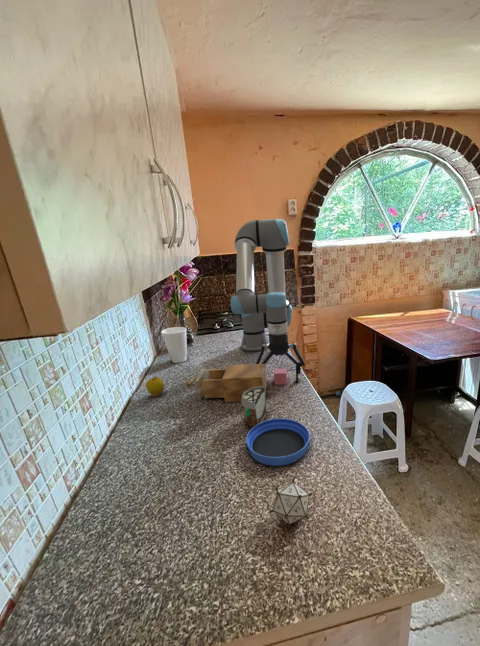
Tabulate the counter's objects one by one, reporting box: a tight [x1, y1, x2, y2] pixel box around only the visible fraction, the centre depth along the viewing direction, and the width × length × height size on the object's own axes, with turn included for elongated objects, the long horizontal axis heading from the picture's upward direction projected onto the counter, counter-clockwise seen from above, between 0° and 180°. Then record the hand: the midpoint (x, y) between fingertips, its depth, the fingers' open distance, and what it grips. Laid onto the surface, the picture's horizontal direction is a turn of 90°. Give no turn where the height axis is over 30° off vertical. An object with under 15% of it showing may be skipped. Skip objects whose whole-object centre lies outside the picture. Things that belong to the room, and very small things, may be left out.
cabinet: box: [222, 363, 268, 403], centre depth 119 cm, size 15×13×10 cm
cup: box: [161, 326, 188, 364], centre depth 155 cm, size 12×12×16 cm
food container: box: [240, 386, 267, 429], centre depth 101 cm, size 12×6×10 cm, turn 168°
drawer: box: [186, 368, 227, 401], centre depth 119 cm, size 18×11×8 cm, turn 89°
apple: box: [145, 376, 165, 398], centre depth 121 cm, size 6×6×8 cm
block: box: [273, 368, 288, 386], centre depth 128 cm, size 5×5×5 cm
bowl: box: [245, 418, 311, 467], centre depth 89 cm, size 18×18×4 cm
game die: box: [268, 477, 314, 530], centre depth 65 cm, size 9×8×10 cm
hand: (281, 381), depth 128 cm, fingers open, 13 cm apart
